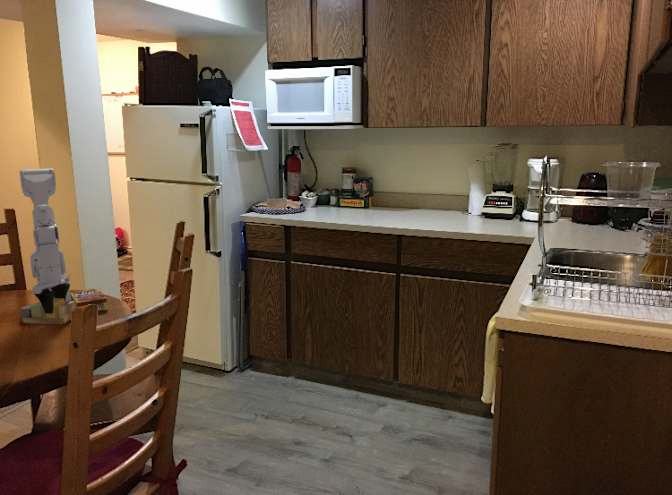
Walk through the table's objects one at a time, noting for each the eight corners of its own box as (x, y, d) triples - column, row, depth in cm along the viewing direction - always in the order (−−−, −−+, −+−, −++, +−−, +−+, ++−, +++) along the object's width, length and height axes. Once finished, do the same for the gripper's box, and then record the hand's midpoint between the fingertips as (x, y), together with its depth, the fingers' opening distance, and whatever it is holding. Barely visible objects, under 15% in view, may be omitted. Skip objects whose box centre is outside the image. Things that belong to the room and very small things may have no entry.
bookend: (32, 316, 177) (31, 303, 177) (41, 316, 177) (40, 303, 176) (21, 321, 172) (20, 308, 172) (30, 321, 172) (29, 308, 171)
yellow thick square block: (56, 313, 176) (55, 298, 175) (65, 314, 175) (64, 298, 174) (46, 319, 171) (44, 303, 170) (55, 319, 171) (53, 303, 170)
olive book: (43, 316, 177) (41, 301, 176) (52, 317, 176) (50, 301, 175) (32, 322, 172) (30, 305, 171) (41, 322, 171) (39, 306, 170)
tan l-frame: (38, 315, 178) (36, 300, 177) (76, 317, 176) (74, 301, 175) (23, 322, 171) (21, 306, 170) (62, 324, 169) (60, 307, 168)
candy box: (76, 301, 177) (68, 291, 189) (77, 315, 177) (70, 304, 190) (106, 296, 181) (97, 287, 194) (108, 309, 182) (98, 299, 195)
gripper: (46, 272, 163) (51, 318, 165) (76, 261, 177) (81, 303, 179) (23, 271, 164) (29, 317, 166) (55, 260, 178) (60, 303, 180)
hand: (54, 310), depth 173 cm, fingers closed on yellow thick square block, 5 cm apart
